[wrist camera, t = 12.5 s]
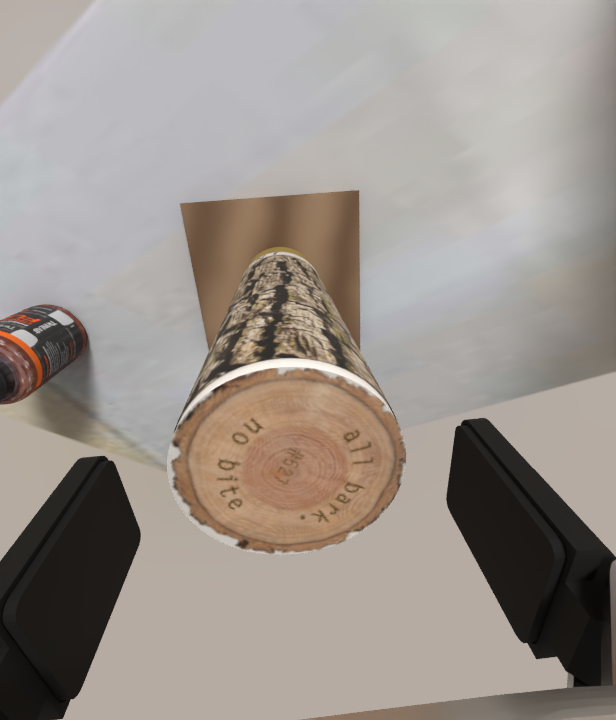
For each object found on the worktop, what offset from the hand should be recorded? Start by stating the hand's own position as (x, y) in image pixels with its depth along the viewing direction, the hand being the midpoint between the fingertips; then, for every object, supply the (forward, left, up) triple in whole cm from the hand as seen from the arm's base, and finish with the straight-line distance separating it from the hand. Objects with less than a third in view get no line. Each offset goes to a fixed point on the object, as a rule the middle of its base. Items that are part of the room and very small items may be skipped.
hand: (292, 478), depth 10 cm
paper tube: (0, 0, -26) cm, 26 cm away
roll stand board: (0, 0, -27) cm, 27 cm away
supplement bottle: (+22, +3, -27) cm, 35 cm away
